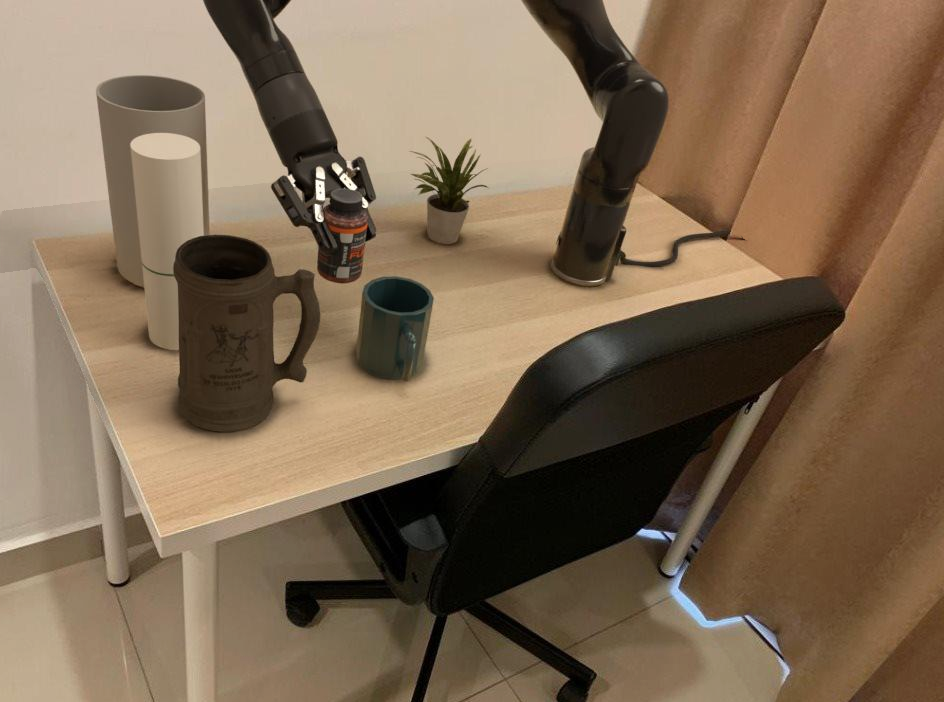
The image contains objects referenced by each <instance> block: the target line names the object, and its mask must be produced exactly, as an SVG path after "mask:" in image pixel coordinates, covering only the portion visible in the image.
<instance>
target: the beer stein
mask: <svg viewBox="0 0 944 702" xmlns="http://www.w3.org/2000/svg"><path fill="white" fill-rule="evenodd" d="M173 274H174V277H175V279H176V281H177V283H178V314H179V350H178V363H179V365H178V366H179V373H178V377H177V388H178V389H179V391H178V402H177V403H178V407H179V410H180V412H181V414H182V416H184V418H186V419H187V420H188V421H189V422H190V423H191V424H193V425H195V426H196V427H198V428H201V429H204V430H208V431H212V432H236V431H242V430H247V429H249V428H253V427H254V426H256V425H257V424H259V423H262V422H263V421H264V420H265V419H266V418H267V417H268V415H270V413H271V412H272V409H273V406H274V391H273V387H274V386H275V385H276V384H277V383H278V382H281V381H282V380H291V381H294V382H297V383H304V381H305V380H306V378H307V373H308V369H307V368H306V366H305V365H304V360H305V357H306V355H307V354H308V352H309V350H310V349H311V347H312V345H313V343H314V342H315V340H316V338H317V335H318V331H319V329H320V324H321V317H322V315H321V307H320V302H319V299H318V297H317V293H316V291H315V275H316V274H315V273H314V272H312V271H311V270H307V269H304V268H303V269H298V270H297V271H296V272H294V273H293V274H290V275H280V276H277V275H276V272H275V269H274V265H273V261H272V257H271V255H270V252H268V250H267V249H266V248H265V247H263V246H262V245H261V244H258V243H257V242H255V240H254V241H253V240H250V239H249V238H245V237H241V236H235V235H229V234H210V235H206V236H199V237H196V238H193V239H190V240H188V241H186V242H185V243H183V244H182V245H181V246H180V247H179V248H178V249H177V252H176V256H175V262H174V266H173ZM283 294H284V295H286V294H293V295H295V296H296V297H297V299H298V301H299V302H300V311H301V312H300V323H299V327H298V331H297V335H296V338H295V341H294V343H293V345H292V348H291V350H290V351H289V354H288V355H287V357H286V358H285V359H284V361H283V362H281V363H277V362H276V361H275V353H274V323H275V322H274V320H275V319H274V303H275V301H276V299H277V298H278V297H279V296H281V295H283Z"/></svg>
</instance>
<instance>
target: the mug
mask: <svg viewBox="0 0 944 702" xmlns="http://www.w3.org/2000/svg"><path fill="white" fill-rule="evenodd" d="M434 301H435V297H434V295H433V293H432V292H431V290H430V288H428V287H427V286H425V285H424V284H423V283H421V282H419V281H417V280H414V279H411V278H407V277H404V276H403V277H402V276H396V275H395V276H394V275H393V276H391V275H389V276H388V275H387V276H381V277H380V276H379V277H376V278H373V279H371V280H369V282H367V283H366V284H364V286H363V289H362V293H361V301H360V312H359V321H358V331H357V340H356V350H355V356H356V357H355V359H356V361H357V364H358V365H359V367H360V368H361V369H362V370H363V371H364V372H366V373H367V374H370V375H372V376H374V377H376V378H380V379H385V380H402V381H403V382H409V381H410V380H411V377H412V376H415V375H416V374H417V373H419V371H421V368H422V367H423V364H424V363H423V362H424V358H425V352H426V345H427V341H428V334H429V330H430V329H429V328H430V322H431V318H432V311H433V306H434Z"/></svg>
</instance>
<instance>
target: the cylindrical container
mask: <svg viewBox="0 0 944 702" xmlns="http://www.w3.org/2000/svg"><path fill="white" fill-rule="evenodd" d="M130 146H131V157H132V167H133V177H134V187H135V198H136V208H137V218H138V229H139V239H140V249H141V259H142V269H143V279H144V287H143V289H144V298H145V308H146V319H147V320H146V321H147V330H148V338H149V340H150V341H151V343H152V344H154V345H155V346H157V347H159V348H161V349H164V350H169V351H179V314H178V283H177V281H176V279H175V277H174V274H173V266H174V262H175V256H176V252H177V249H178V248H179V247H180V246H181V245H182V244H183V243H185V242H186V241H188V240H190V239H193V238H196V237H199V236H204V227H203V202H202V177H201V152H200V145H199V143H197V142H196V141H195V140H193V139H191V138H189V137H186V136H183V135H178V134H172V133H151V134H145V135H142V136H138V137H137V138H135V139H133V140H132V141H131V143H130Z"/></svg>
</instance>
